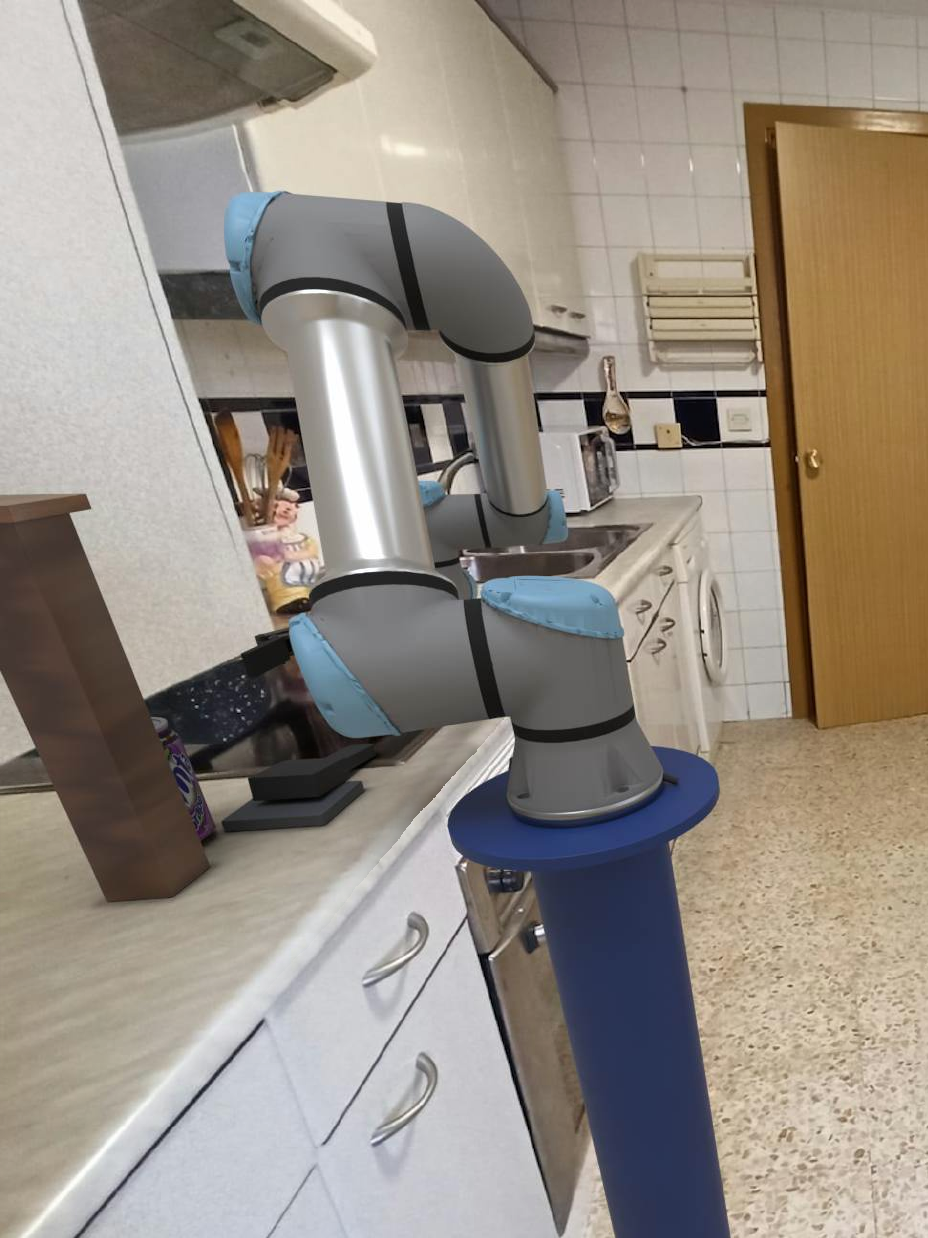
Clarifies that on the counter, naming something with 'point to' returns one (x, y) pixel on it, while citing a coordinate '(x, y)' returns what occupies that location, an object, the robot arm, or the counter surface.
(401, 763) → the counter surface
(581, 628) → the robot arm
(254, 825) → the base pad
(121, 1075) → the counter surface
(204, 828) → the beverage can
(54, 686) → the stand
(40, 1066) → the counter surface
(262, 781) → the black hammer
